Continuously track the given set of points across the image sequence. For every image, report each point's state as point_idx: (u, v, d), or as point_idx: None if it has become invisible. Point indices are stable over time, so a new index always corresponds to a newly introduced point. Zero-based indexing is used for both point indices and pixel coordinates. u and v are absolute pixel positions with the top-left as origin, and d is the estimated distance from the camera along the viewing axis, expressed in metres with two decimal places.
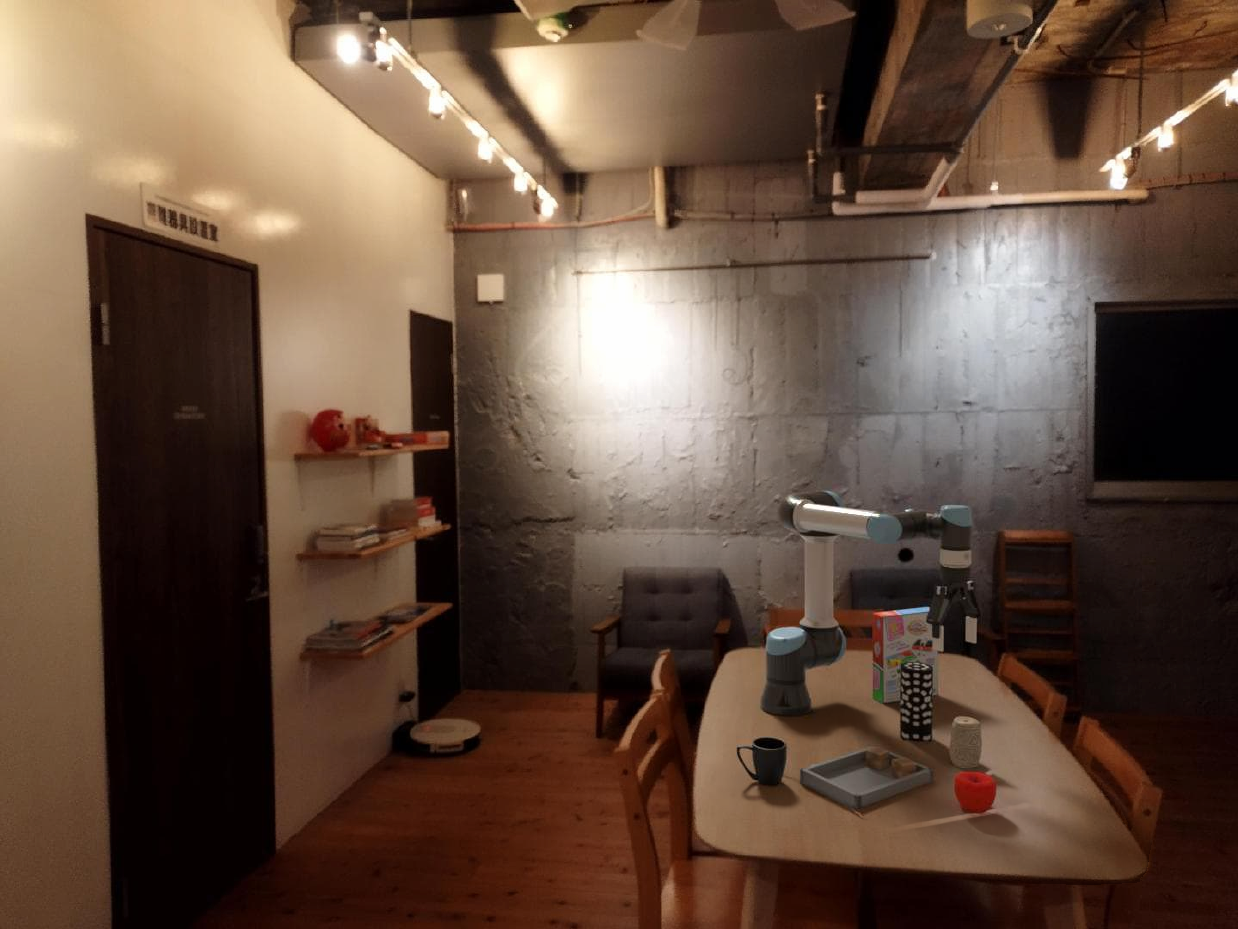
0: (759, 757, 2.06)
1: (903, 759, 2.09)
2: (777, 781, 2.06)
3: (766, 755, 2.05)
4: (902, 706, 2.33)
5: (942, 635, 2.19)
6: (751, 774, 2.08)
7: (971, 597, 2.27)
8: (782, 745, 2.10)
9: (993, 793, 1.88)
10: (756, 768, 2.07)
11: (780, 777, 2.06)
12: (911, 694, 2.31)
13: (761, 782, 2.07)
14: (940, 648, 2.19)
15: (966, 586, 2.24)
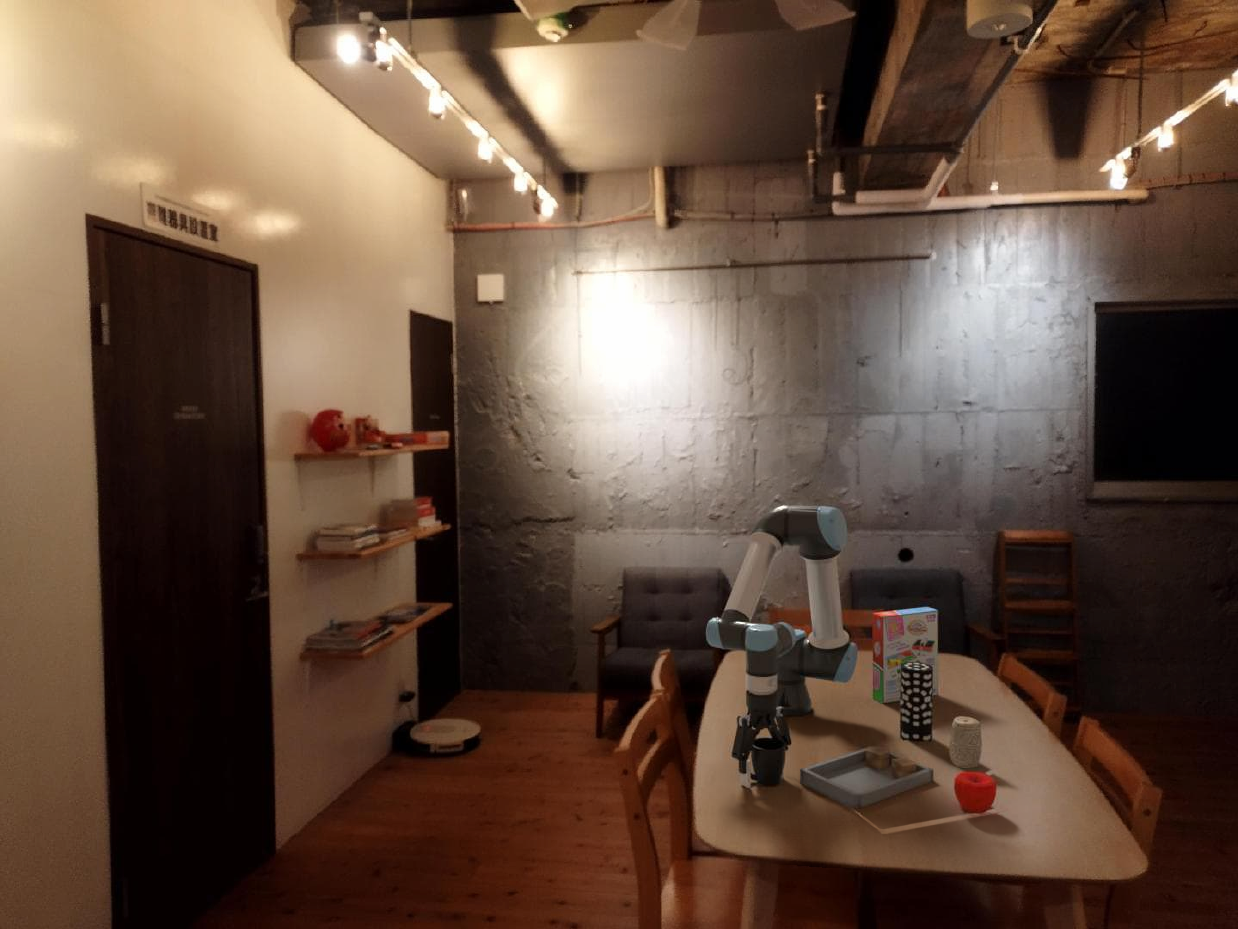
0: (758, 757, 2.05)
1: (903, 759, 2.09)
2: (776, 781, 2.06)
3: (765, 755, 2.04)
4: (902, 706, 2.33)
5: (748, 771, 2.05)
6: None
7: (780, 725, 2.11)
8: (781, 745, 2.09)
9: (993, 793, 1.88)
10: (755, 768, 2.07)
11: (779, 777, 2.06)
12: (911, 694, 2.31)
13: (760, 782, 2.07)
14: (747, 784, 2.05)
15: (774, 712, 2.09)
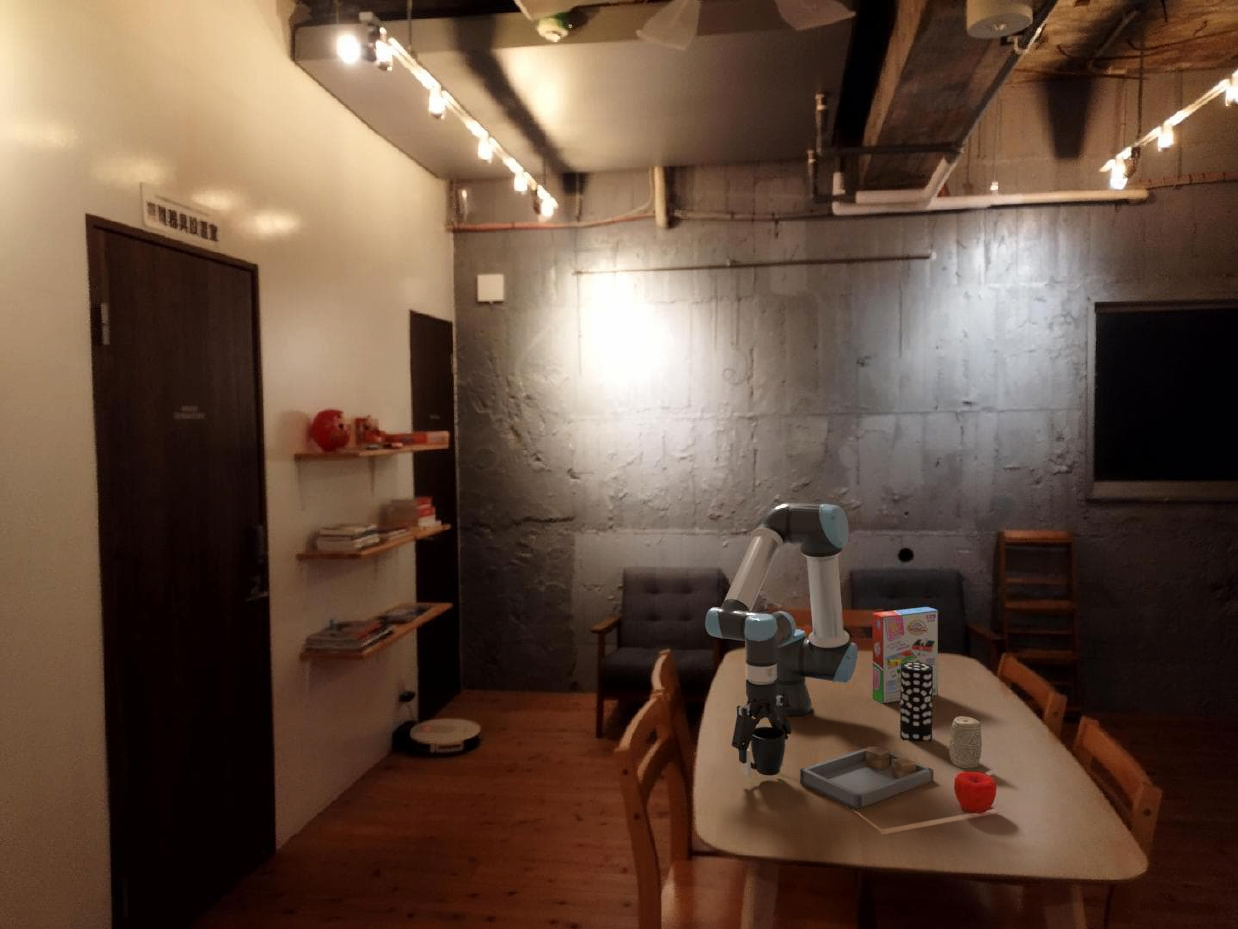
0: (757, 747, 2.06)
1: (903, 759, 2.09)
2: (775, 770, 2.06)
3: (764, 745, 2.05)
4: (902, 706, 2.33)
5: (749, 760, 2.05)
6: None
7: (780, 714, 2.11)
8: (781, 734, 2.09)
9: (993, 793, 1.88)
10: (754, 757, 2.07)
11: (778, 766, 2.06)
12: (911, 694, 2.31)
13: (759, 771, 2.07)
14: (747, 773, 2.05)
15: (774, 701, 2.09)
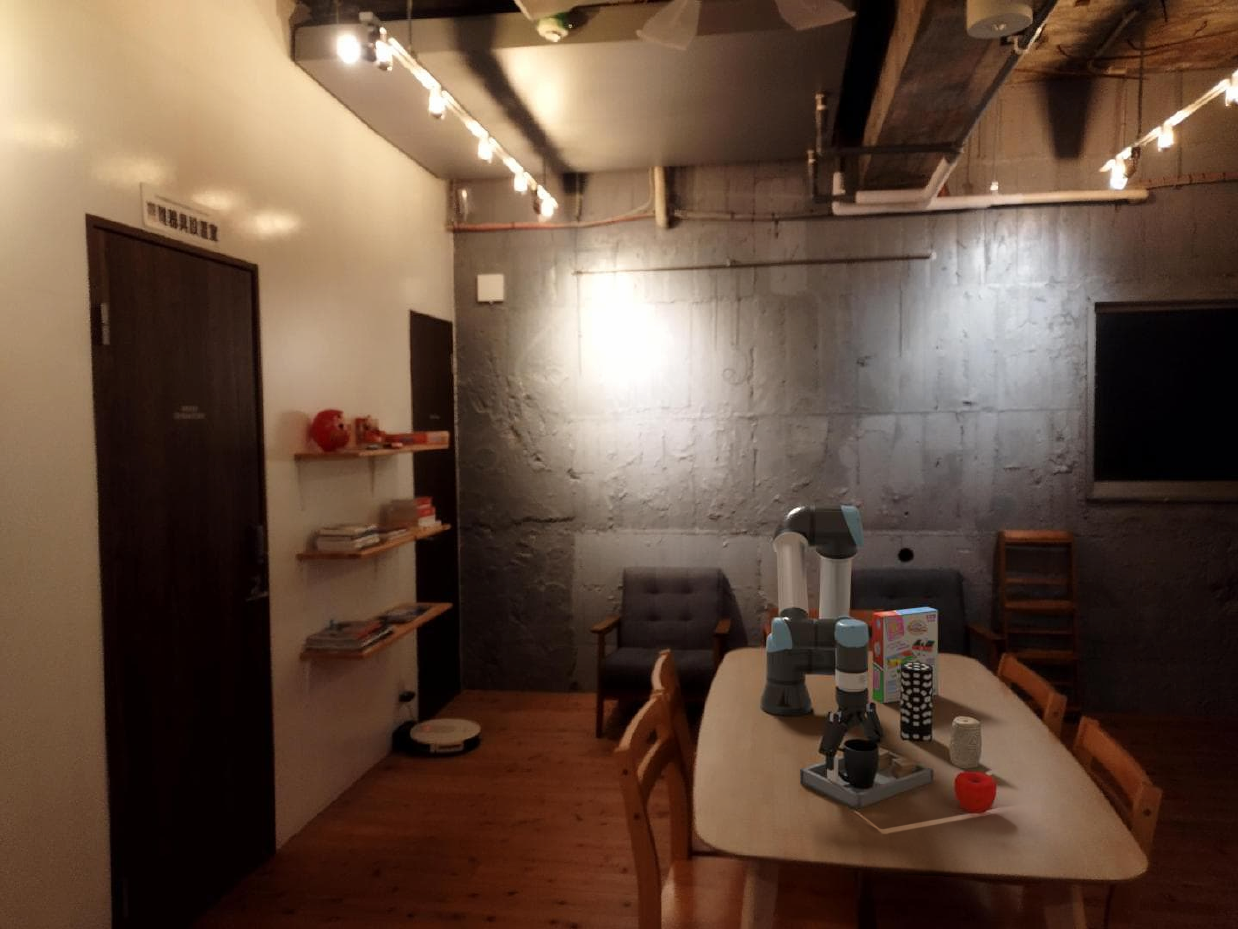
0: (850, 759, 2.02)
1: (903, 759, 2.09)
2: (869, 784, 2.02)
3: (858, 757, 2.01)
4: (902, 706, 2.33)
5: (836, 767, 1.99)
6: (842, 776, 2.04)
7: (871, 719, 2.07)
8: (874, 747, 2.05)
9: (993, 793, 1.88)
10: (847, 770, 2.03)
11: (872, 780, 2.02)
12: (911, 694, 2.31)
13: (852, 784, 2.03)
14: (834, 781, 2.00)
15: (864, 709, 2.04)
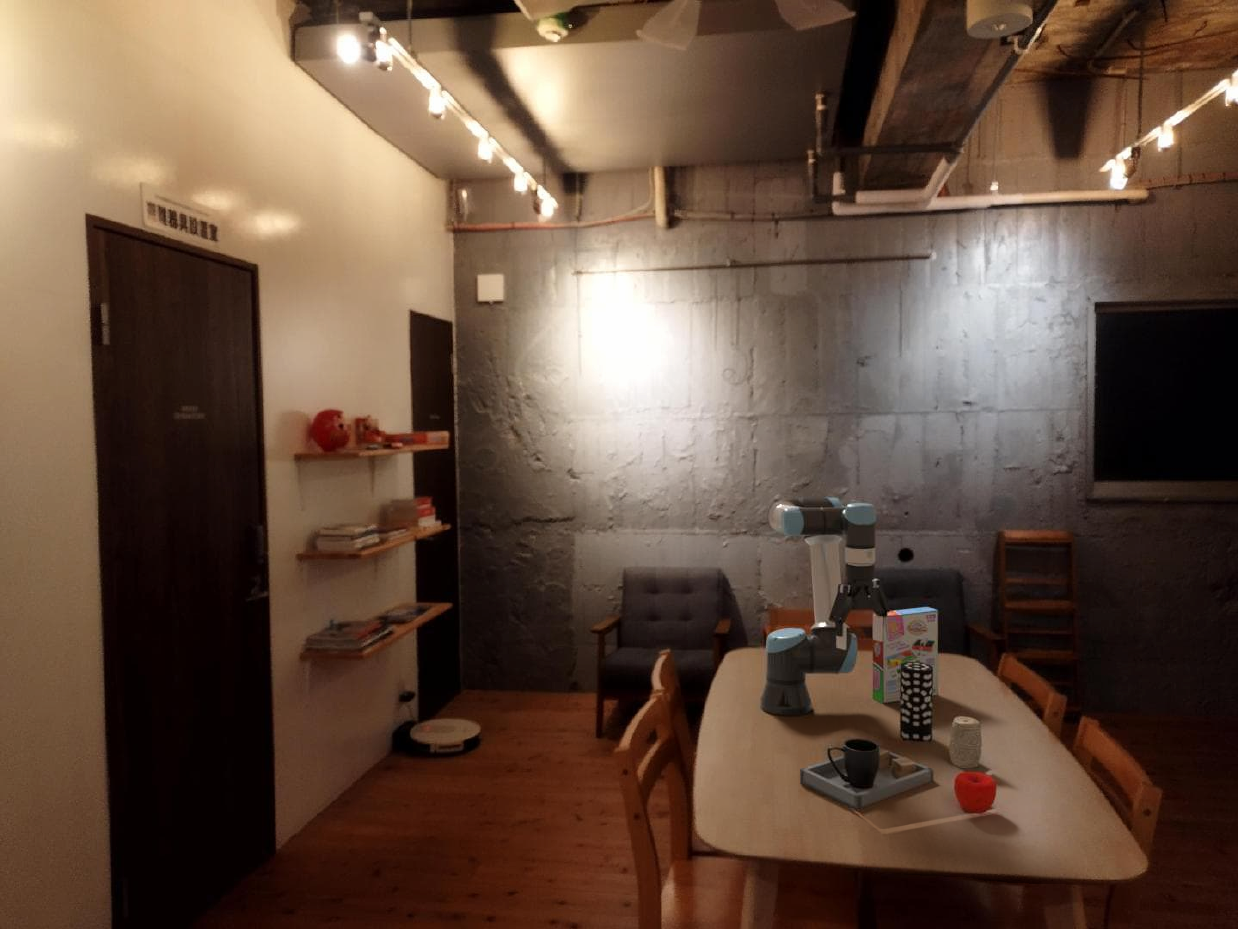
0: (851, 759, 2.02)
1: (903, 759, 2.09)
2: (869, 784, 2.02)
3: (858, 757, 2.01)
4: (902, 706, 2.33)
5: (845, 633, 2.19)
6: (842, 776, 2.05)
7: (877, 595, 2.27)
8: (874, 747, 2.05)
9: (993, 793, 1.88)
10: (847, 770, 2.03)
11: (872, 780, 2.02)
12: (911, 694, 2.31)
13: (853, 784, 2.03)
14: (843, 646, 2.19)
15: (871, 584, 2.24)
